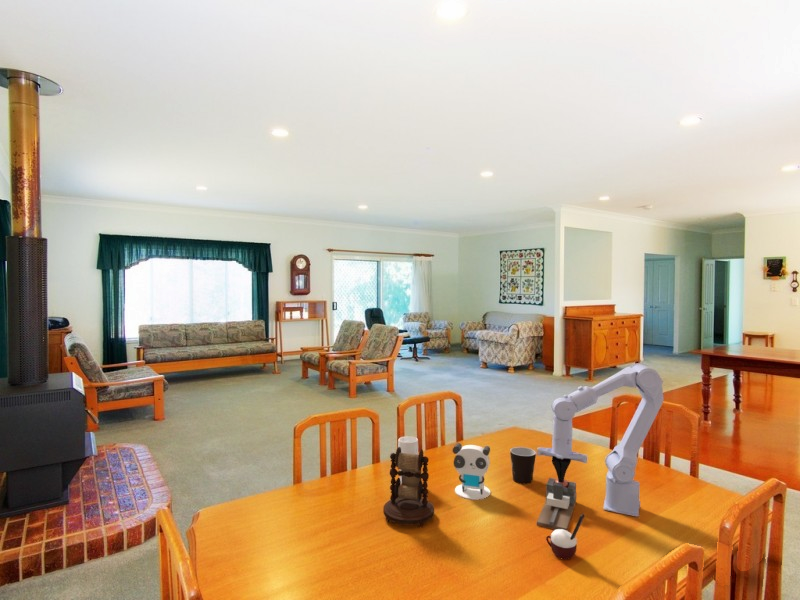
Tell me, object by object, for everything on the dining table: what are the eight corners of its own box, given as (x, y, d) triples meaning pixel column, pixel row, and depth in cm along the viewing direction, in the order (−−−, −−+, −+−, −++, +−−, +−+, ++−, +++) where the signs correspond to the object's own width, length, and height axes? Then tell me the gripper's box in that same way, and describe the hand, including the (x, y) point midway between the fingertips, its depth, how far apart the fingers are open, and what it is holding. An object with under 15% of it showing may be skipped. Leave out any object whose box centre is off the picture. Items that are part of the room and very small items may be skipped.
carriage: (569, 503, 143) (569, 483, 143) (567, 509, 139) (568, 488, 139) (548, 499, 146) (549, 479, 145) (546, 504, 142) (546, 484, 142)
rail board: (576, 502, 148) (577, 483, 148) (567, 532, 131) (568, 510, 130) (549, 496, 152) (549, 477, 152) (536, 525, 134) (537, 504, 134)
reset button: (568, 486, 149) (568, 480, 148) (566, 491, 145) (566, 484, 145) (556, 484, 150) (556, 477, 150) (554, 488, 147) (554, 482, 147)
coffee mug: (529, 487, 158) (530, 458, 158) (505, 481, 164) (505, 452, 163) (542, 476, 168) (543, 448, 167) (519, 470, 173) (519, 443, 172)
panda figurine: (449, 496, 152) (449, 449, 151) (456, 481, 163) (457, 438, 162) (487, 502, 148) (488, 454, 148) (492, 487, 159) (493, 442, 158)
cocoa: (542, 550, 123) (540, 504, 122) (562, 544, 125) (560, 499, 125) (568, 569, 114) (566, 519, 114) (589, 563, 116) (587, 514, 116)
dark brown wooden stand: (438, 508, 144) (439, 442, 143) (428, 533, 130) (428, 460, 129) (391, 501, 148) (391, 437, 147) (376, 525, 134) (376, 454, 133)
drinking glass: (418, 487, 158) (418, 443, 157) (397, 487, 158) (397, 442, 157) (417, 479, 165) (418, 436, 164) (398, 478, 165) (398, 435, 164)
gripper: (535, 437, 147) (534, 481, 147) (586, 445, 140) (584, 491, 141) (539, 431, 153) (539, 473, 154) (588, 438, 147) (587, 482, 147)
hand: (561, 481), depth 148 cm, fingers closed, pressing on reset button
